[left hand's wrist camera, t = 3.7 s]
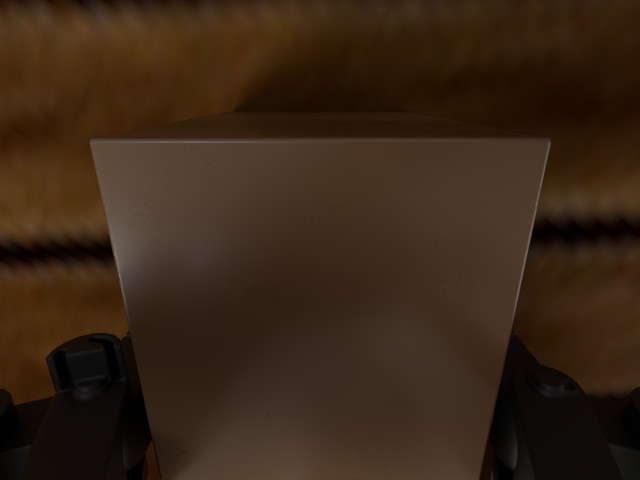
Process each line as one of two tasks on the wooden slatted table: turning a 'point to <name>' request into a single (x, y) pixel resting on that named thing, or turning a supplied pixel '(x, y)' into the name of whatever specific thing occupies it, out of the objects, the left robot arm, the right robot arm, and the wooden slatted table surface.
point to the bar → (320, 288)
